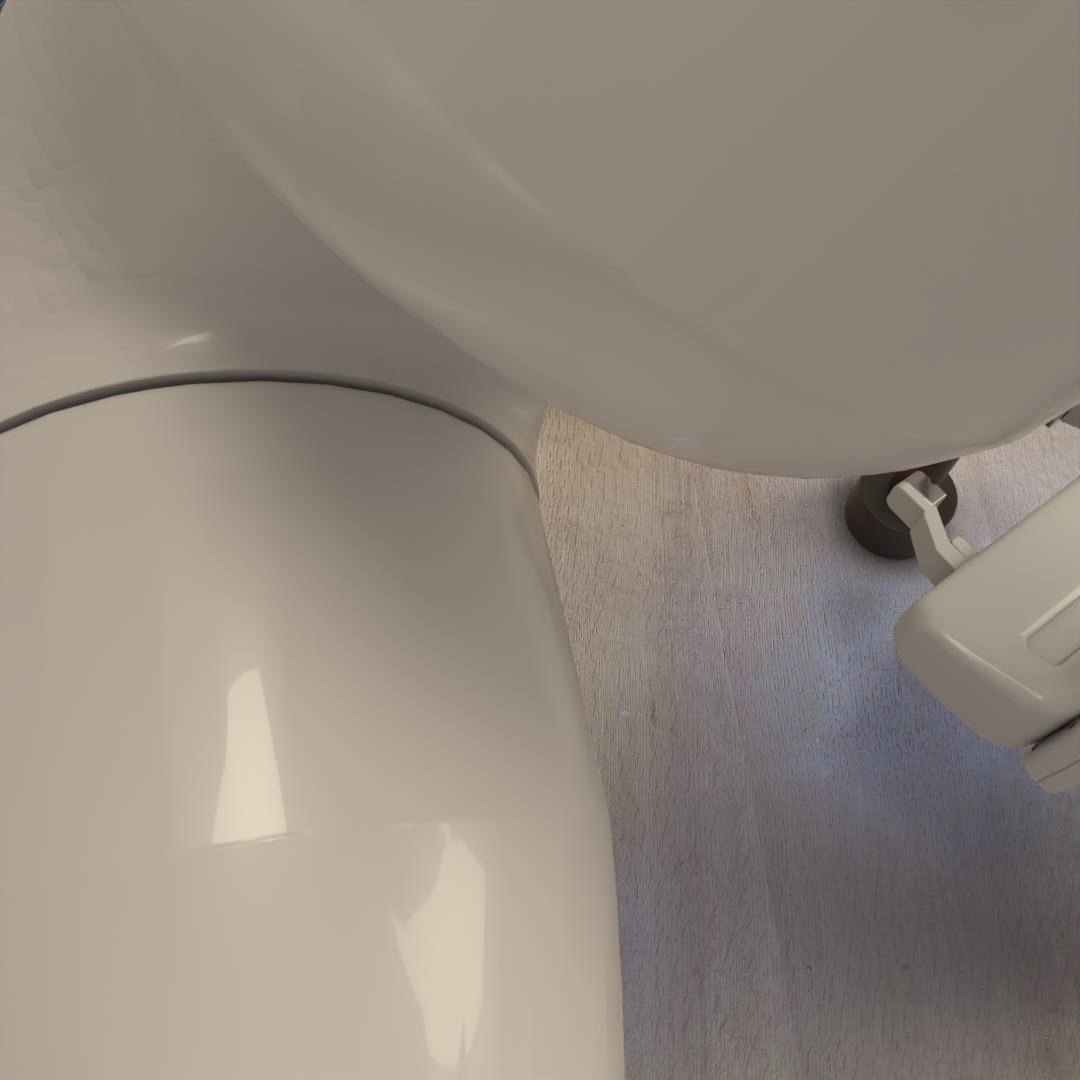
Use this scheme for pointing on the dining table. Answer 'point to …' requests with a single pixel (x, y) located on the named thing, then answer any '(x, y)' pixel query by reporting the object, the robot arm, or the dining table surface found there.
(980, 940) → the dining table surface
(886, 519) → the peg on round base
